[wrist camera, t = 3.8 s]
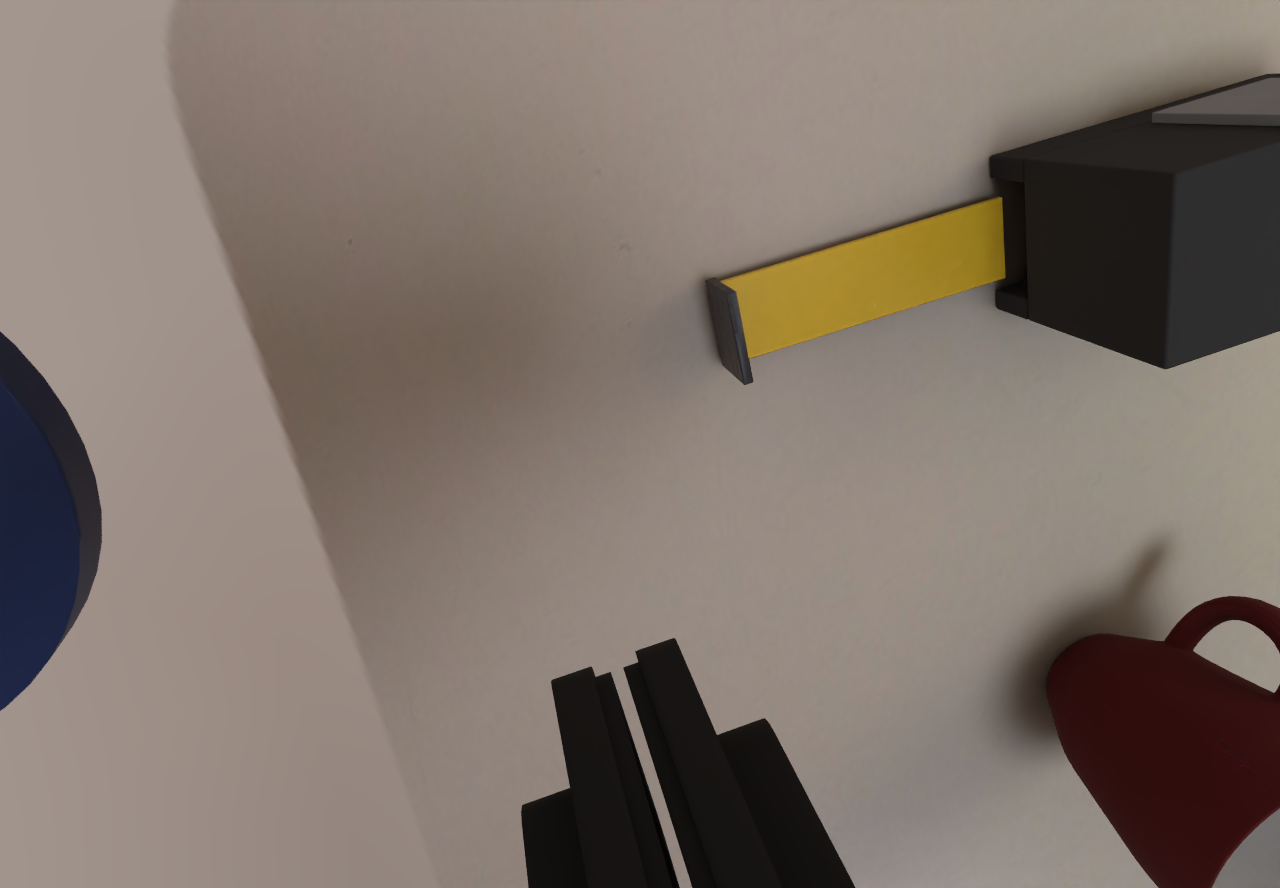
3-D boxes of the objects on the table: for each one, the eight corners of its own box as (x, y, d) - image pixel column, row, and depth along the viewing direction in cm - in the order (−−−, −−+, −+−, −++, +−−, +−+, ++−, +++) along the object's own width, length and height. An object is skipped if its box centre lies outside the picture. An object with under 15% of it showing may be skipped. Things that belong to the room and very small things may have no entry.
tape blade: (722, 365, 25) (744, 385, 24) (704, 279, 24) (726, 293, 22) (998, 278, 26) (1039, 291, 25) (994, 192, 25) (1037, 199, 23)
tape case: (996, 316, 27) (1164, 379, 21) (988, 145, 25) (1175, 160, 19) (1252, 233, 28) (1485, 271, 22) (1267, 63, 26) (1534, 50, 20)
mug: (1067, 531, 32) (1317, 700, 23) (1221, 544, 34) (1504, 702, 25) (976, 745, 35) (1162, 965, 26) (1121, 744, 38) (1338, 945, 29)
